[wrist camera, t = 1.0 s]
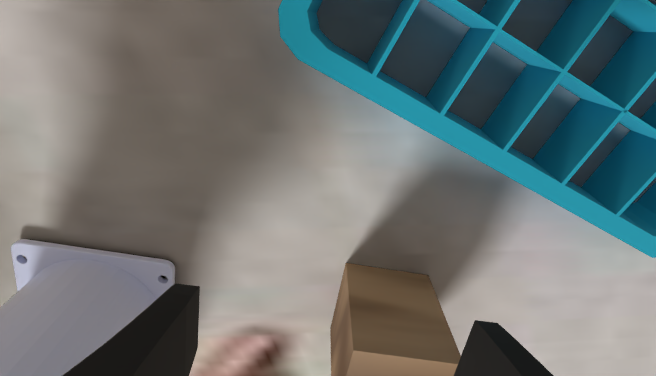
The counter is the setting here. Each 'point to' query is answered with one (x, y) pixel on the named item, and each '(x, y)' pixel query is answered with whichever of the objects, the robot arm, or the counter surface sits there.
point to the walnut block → (390, 326)
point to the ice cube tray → (525, 102)
